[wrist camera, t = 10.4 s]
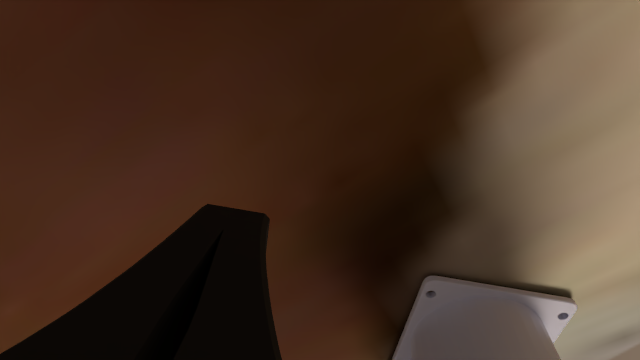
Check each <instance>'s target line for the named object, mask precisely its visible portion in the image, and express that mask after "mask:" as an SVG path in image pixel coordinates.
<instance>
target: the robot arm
mask: <svg viewBox="0 0 640 360" xmlns="http://www.w3.org/2000/svg"><path fill="white" fill-rule="evenodd" d="M269 221H270V219H269V218H268V217H267V215H266V214H264V213H258V212H252V211H246V210H240V209H234V208H228V207H222V206H216V205H210V204H207V205H205V206H203V207H202V208H201V209H200V210H198V211H197V212H196V213H195V214H194V215H193V216H192V217H191V218H189V219H188V220H187V221H186V222H185V223H184V224H183V225H181V226H180V227H179V228H178V229H177V230H176V231H175V232H173V233H172V234H171V235H170V236H169V237H167V238H166V239H165V240H164V241H163V242H162V243H160V244H159V245H158V246H157V247H155V248H154V249H153V250H152V251H150V252H149V253H148V254H147V255H145V256H144V257H143V258H142V259H140V260H139V261H138V262H137V263H135V264H134V265H133V266H132V267H130V268H129V269H128V270H126V271H125V272H124V273H122V274H121V275H120V276H118V277H117V278H115V279H114V280H113V281H111V282H110V283H109V284H107V285H106V286H104V287H103V288H102V289H100V290H99V291H98V292H96V293H95V294H93V295H92V296H91V297H89V298H88V299H86V300H85V301H84V302H82V303H81V304H79V305H78V306H76V307H75V308H73V309H72V310H70V311H69V312H67V313H66V314H64V315H63V316H61V317H60V318H58V319H57V320H55V321H53V322H52V323H50V324H49V325H47V326H46V327H44V328H42V329H41V330H39V331H38V332H36V333H34V334H33V335H31V336H30V337H28V338H26V339H25V340H23V341H21V342H20V343H18V344H16V345H15V346H13V347H11V348H10V349H8V350H6V351H4V352H3V353H1V354H0V360H282V359H281V354H280V350H279V346H278V341H277V336H276V331H275V326H274V321H273V316H272V310H271V303H270V297H269V288H268V279H267V270H266V246H267V238H268V230H269ZM428 291H433V292H428ZM577 308H578V307H577V304H576V303H575V301H574V300H573V299H571V298H567V297H561V296H555V295H549V294H543V293H537V292H531V291H525V290H519V289H513V288H507V287H501V286H495V285H489V284H483V283H477V282H471V281H465V280H459V279H453V278H447V277H441V276H428V277H426V278H425V279H424V280H423V282H422V285H421V287H420V290H419V292H418V295H417V297H416V300H415V302H414V305H413V307H412V310H411V312H410V315H409V317H408V320H407V322H406V325H405V327H404V330H403V332H402V335H401V337H400V340H399V342H398V345H397V347H396V350H395V353H394V355H393V358H392V360H561V359H560V357H559V355H558V353H557V351H556V349H555V347H554V344H553V343H554V342H555V341H556V339H557V338H558V336H559V335H560V333H561V332H562V331H563V329H564V328H565V326H566V325H567V323H568V322H569V321H570V319H571V318H572V316H573V315H574V314H575V312H576V311H577Z"/></svg>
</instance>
